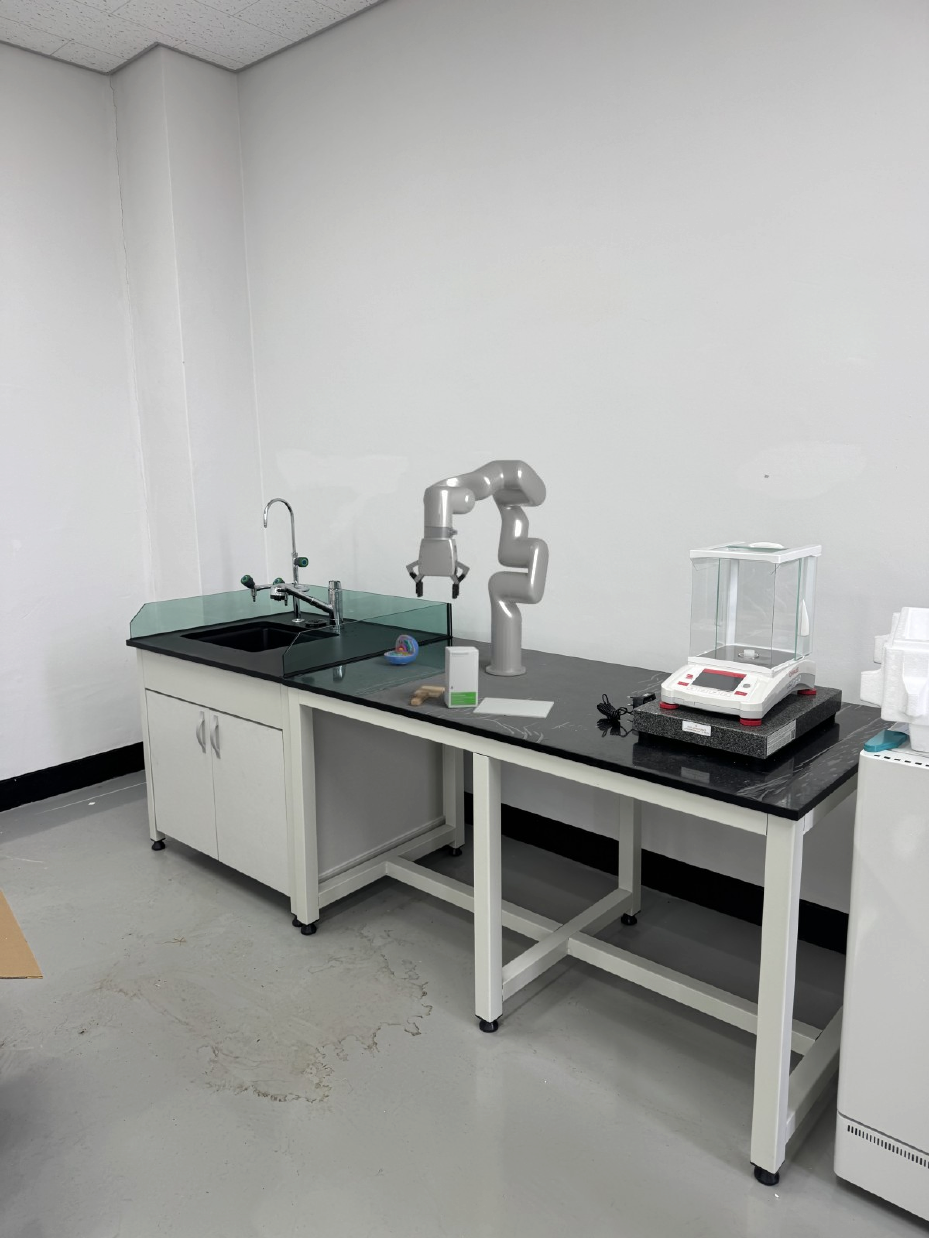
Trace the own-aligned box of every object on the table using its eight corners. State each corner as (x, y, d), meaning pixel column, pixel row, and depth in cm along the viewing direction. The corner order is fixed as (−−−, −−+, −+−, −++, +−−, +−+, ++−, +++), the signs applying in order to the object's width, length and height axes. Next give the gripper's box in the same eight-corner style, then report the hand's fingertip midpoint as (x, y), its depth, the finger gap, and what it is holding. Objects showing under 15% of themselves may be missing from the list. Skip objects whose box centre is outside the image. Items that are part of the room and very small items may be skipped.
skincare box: (448, 708, 231) (448, 651, 228) (443, 702, 237) (443, 646, 234) (479, 707, 232) (479, 650, 230) (474, 700, 239) (474, 645, 236)
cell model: (377, 664, 283) (377, 635, 281) (406, 659, 291) (406, 631, 289) (396, 669, 276) (396, 640, 274) (425, 664, 284) (425, 635, 282)
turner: (423, 687, 254) (423, 683, 253) (446, 689, 252) (446, 685, 252) (402, 704, 234) (402, 700, 234) (426, 706, 233) (426, 701, 233)
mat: (485, 698, 241) (485, 697, 240) (553, 703, 236) (553, 701, 236) (472, 713, 226) (472, 711, 226) (545, 718, 222) (545, 716, 222)
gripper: (472, 534, 233) (471, 597, 235) (411, 532, 237) (410, 594, 239) (466, 535, 225) (465, 600, 228) (402, 533, 229) (402, 597, 232)
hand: (437, 597), depth 233 cm, fingers open, 9 cm apart
